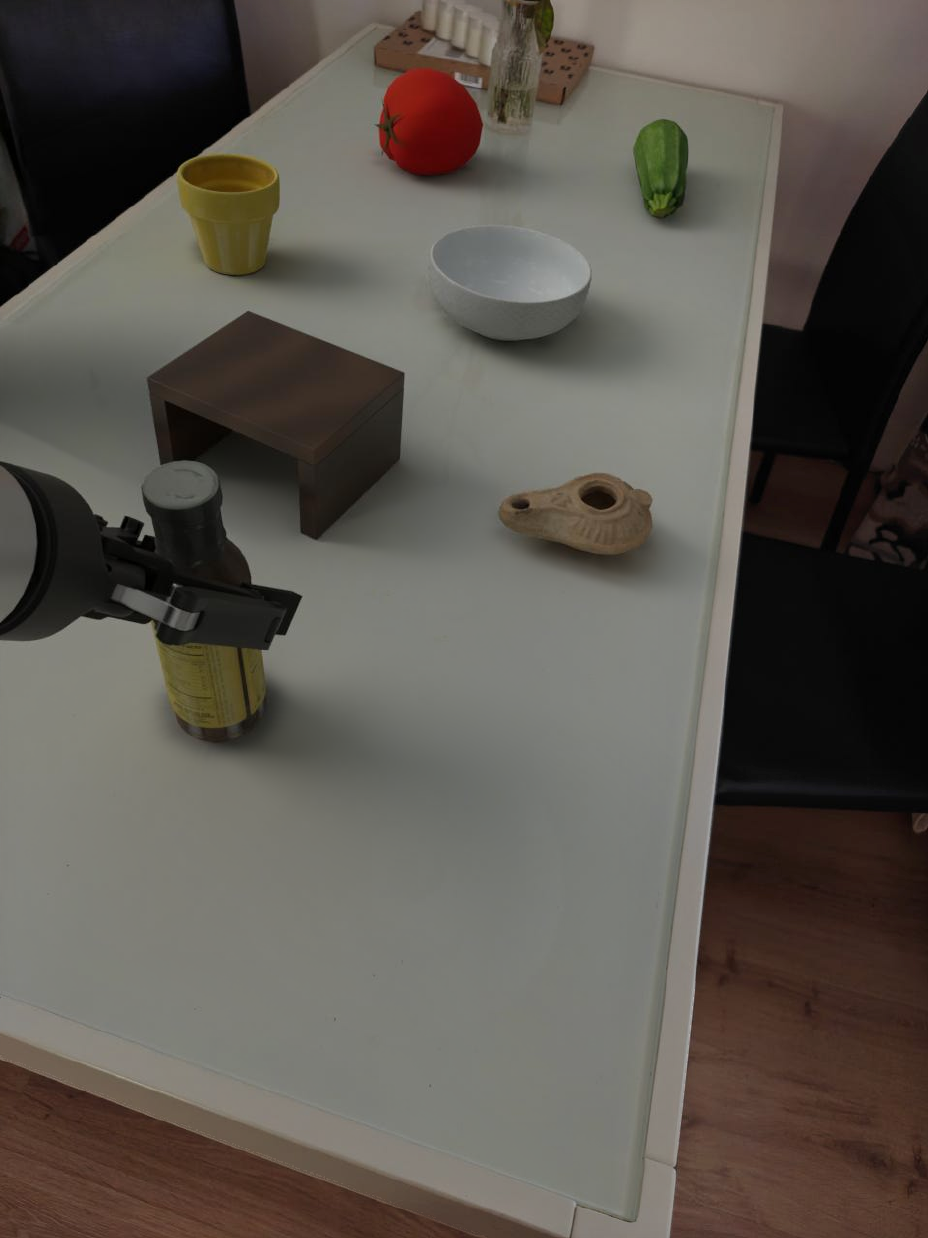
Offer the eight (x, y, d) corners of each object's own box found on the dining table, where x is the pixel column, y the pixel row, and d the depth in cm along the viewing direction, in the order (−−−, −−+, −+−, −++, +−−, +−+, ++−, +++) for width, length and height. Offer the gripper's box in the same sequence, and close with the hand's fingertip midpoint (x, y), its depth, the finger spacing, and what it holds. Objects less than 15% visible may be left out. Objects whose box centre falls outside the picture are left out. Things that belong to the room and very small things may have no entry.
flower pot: (248, 230, 115) (242, 143, 108) (301, 267, 110) (298, 179, 103) (169, 253, 110) (157, 163, 103) (221, 293, 105) (212, 202, 98)
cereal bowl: (611, 345, 105) (625, 283, 100) (477, 380, 98) (485, 315, 93) (524, 271, 115) (533, 211, 109) (397, 298, 108) (400, 235, 103)
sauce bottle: (228, 659, 70) (201, 427, 55) (286, 712, 67) (273, 483, 53) (150, 708, 66) (99, 474, 52) (207, 766, 64) (170, 536, 49)
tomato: (460, 176, 138) (375, 192, 133) (439, 77, 134) (350, 89, 129) (506, 155, 127) (415, 172, 122) (484, 46, 123) (390, 58, 118)
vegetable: (681, 102, 133) (687, 164, 120) (692, 154, 138) (699, 219, 124) (627, 121, 136) (627, 183, 122) (640, 172, 140) (642, 237, 127)
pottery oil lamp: (486, 501, 85) (523, 427, 82) (608, 551, 88) (647, 481, 85) (498, 539, 77) (539, 459, 74) (631, 593, 80) (675, 517, 78)
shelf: (160, 468, 85) (146, 377, 78) (254, 397, 93) (248, 309, 86) (316, 540, 80) (314, 450, 74) (400, 459, 88) (405, 372, 82)
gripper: (193, 555, 38) (397, 598, 60) (-161, 381, 43) (147, 480, 65) (117, 733, 38) (347, 710, 60) (-224, 540, 43) (103, 584, 66)
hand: (243, 591), depth 63 cm, fingers closed on sauce bottle, 6 cm apart
